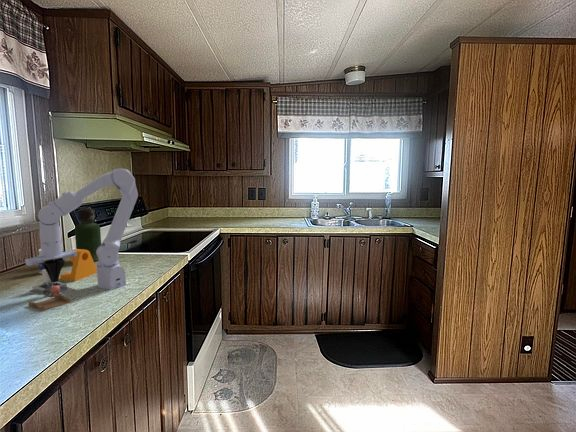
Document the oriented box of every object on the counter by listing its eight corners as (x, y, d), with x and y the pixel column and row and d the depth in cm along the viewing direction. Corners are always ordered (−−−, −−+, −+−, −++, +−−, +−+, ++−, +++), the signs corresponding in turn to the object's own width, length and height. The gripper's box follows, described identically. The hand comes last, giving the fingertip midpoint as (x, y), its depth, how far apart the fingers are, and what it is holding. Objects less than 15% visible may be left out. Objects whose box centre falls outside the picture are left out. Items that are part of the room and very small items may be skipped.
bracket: (82, 274, 135) (80, 245, 134) (97, 275, 134) (95, 246, 132) (59, 282, 125) (56, 252, 123) (75, 283, 123) (73, 253, 122)
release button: (61, 293, 111) (60, 286, 111) (53, 295, 109) (53, 288, 108) (57, 291, 112) (57, 284, 112) (49, 294, 110) (49, 287, 110)
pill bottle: (35, 274, 134) (33, 250, 133) (43, 270, 140) (41, 247, 138) (51, 273, 135) (49, 250, 134) (58, 269, 140) (56, 247, 139)
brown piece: (70, 305, 103) (70, 298, 103) (42, 314, 96) (41, 307, 96) (57, 300, 107) (56, 293, 107) (28, 308, 100) (28, 302, 100)
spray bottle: (74, 263, 150) (70, 210, 147) (80, 258, 160) (76, 207, 156) (99, 262, 153) (96, 209, 150) (104, 256, 163) (101, 207, 160)
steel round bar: (58, 288, 116) (56, 268, 115) (46, 291, 113) (45, 271, 112) (52, 286, 117) (51, 267, 117) (41, 289, 114) (39, 270, 113)
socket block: (77, 292, 114) (76, 286, 114) (51, 300, 107) (51, 293, 107) (56, 286, 121) (56, 280, 120) (31, 292, 114) (30, 286, 113)
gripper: (31, 247, 100) (35, 289, 102) (80, 239, 112) (83, 277, 114) (20, 244, 103) (24, 286, 105) (69, 237, 116) (72, 274, 118)
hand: (54, 281), depth 110 cm, fingers closed
